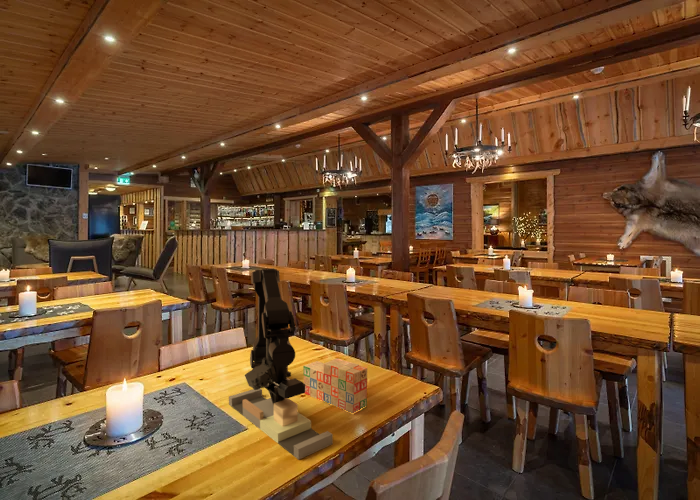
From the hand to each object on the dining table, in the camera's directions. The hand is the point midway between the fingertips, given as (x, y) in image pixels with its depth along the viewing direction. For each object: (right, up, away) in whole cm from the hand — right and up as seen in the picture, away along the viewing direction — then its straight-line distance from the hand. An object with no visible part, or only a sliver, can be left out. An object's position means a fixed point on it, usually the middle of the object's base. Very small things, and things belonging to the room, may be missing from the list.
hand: (277, 410), depth 107 cm
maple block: (+3, -1, -3) cm, 4 cm away
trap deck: (-1, -4, +1) cm, 4 cm away
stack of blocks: (+15, -3, +15) cm, 21 cm away
